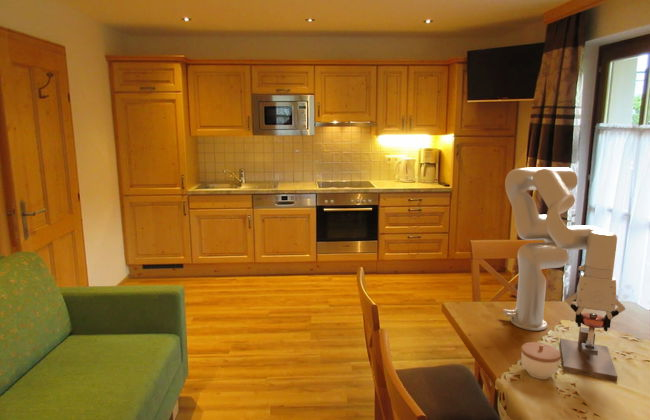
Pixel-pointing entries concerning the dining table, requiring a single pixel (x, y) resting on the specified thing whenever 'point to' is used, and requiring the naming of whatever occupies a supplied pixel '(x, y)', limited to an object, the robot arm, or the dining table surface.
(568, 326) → the dining table surface
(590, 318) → the orange knobbed disc
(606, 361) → the eye stand
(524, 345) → the lidded jar
